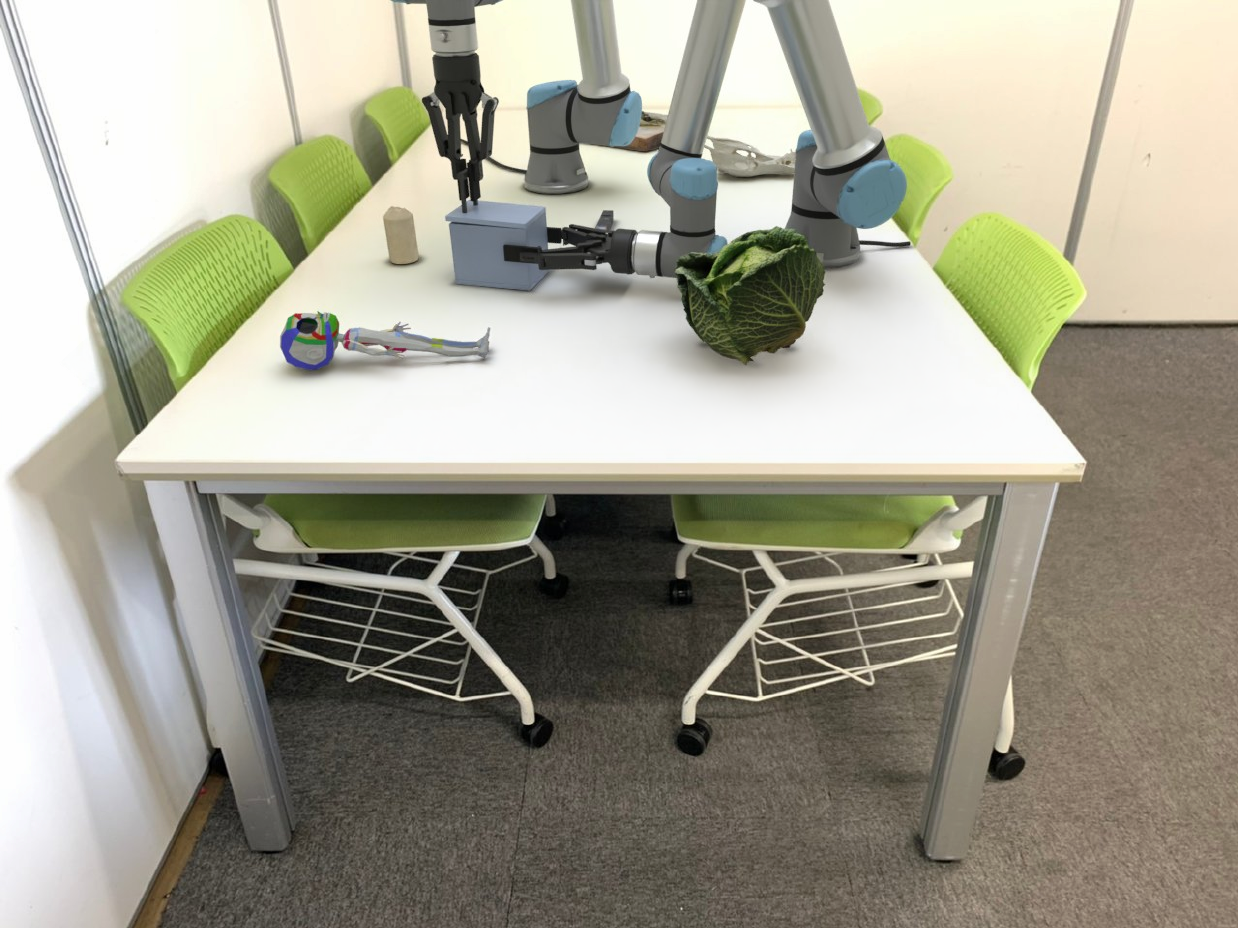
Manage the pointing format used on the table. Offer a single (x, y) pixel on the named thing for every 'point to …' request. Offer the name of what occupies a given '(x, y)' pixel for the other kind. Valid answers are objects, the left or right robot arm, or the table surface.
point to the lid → (493, 211)
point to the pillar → (605, 220)
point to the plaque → (648, 132)
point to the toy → (360, 341)
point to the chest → (495, 254)
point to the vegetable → (751, 292)
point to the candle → (400, 235)
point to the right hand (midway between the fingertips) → (515, 242)
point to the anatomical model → (748, 159)
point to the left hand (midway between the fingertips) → (470, 198)
